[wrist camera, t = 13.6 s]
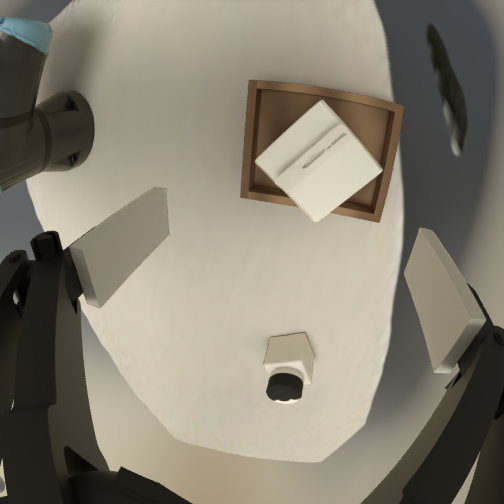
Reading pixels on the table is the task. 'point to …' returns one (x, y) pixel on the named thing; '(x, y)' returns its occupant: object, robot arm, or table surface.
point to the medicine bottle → (288, 367)
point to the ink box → (318, 162)
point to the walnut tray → (296, 105)
